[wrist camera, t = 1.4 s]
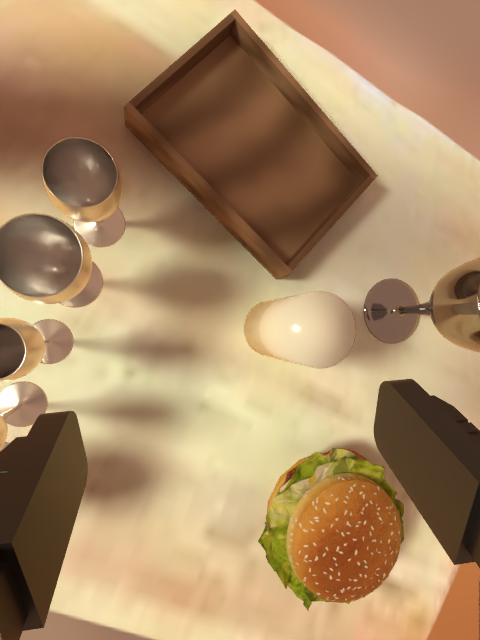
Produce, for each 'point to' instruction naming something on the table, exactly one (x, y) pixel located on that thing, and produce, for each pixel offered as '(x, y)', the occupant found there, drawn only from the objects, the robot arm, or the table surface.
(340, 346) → the dome-topped cylinder
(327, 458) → the food
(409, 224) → the table surface
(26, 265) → the goblet set
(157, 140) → the serving tray
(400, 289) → the wine glass
